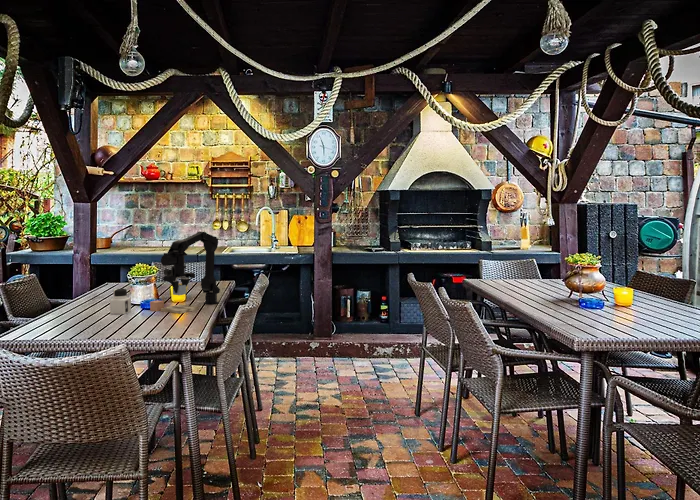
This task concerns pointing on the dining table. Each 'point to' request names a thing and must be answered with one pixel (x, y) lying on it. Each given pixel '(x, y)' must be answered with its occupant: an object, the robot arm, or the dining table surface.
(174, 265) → the robot arm
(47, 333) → the dining table surface
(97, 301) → the dining table surface
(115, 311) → the container
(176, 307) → the birch base
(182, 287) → the gray block
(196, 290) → the dining table surface
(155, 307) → the terracotta block
